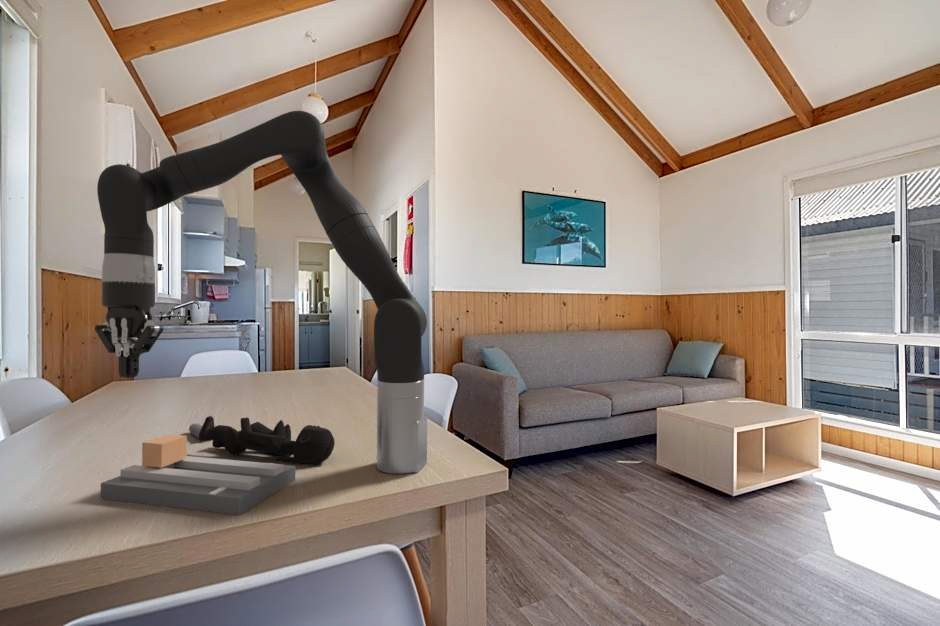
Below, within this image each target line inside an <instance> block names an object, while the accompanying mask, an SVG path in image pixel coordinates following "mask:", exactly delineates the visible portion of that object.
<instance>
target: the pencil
mask: <svg viewBox="0 0 940 626" xmlns="http://www.w3.org/2000/svg"><path fill="white" fill-rule="evenodd" d="M202 426H203V424H200V423H191V424H190V425H189V428H188V430H189V432H190V434H191V435H192V436H194V437H196V438H197V439H199V433H200V431H201V428H202ZM211 441H212V440H210V441H209V440H208V441H201V442H202V443H207V442H211Z"/></svg>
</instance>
